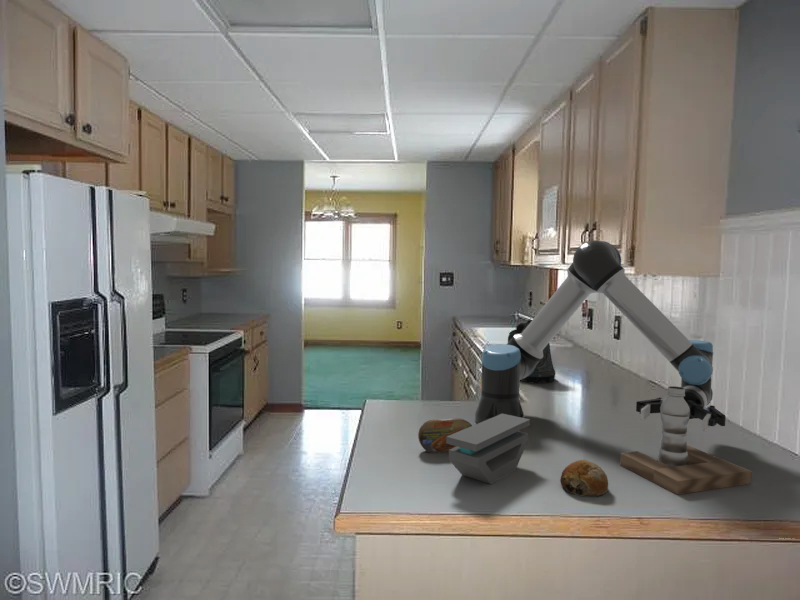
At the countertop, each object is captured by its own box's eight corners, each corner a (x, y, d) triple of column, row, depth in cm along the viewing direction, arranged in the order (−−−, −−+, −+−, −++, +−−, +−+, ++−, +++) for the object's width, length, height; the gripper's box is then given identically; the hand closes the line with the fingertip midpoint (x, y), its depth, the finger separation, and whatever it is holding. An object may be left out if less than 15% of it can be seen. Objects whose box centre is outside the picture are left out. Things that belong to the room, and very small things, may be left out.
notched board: (677, 494, 120) (678, 481, 120) (620, 465, 137) (620, 453, 137) (750, 483, 127) (751, 470, 126) (687, 456, 144) (687, 445, 143)
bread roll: (610, 512, 120) (624, 478, 120) (573, 497, 116) (588, 462, 117) (582, 493, 129) (596, 461, 129) (547, 479, 126) (562, 446, 126)
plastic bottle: (689, 475, 131) (694, 392, 130) (658, 471, 133) (662, 389, 132) (686, 466, 137) (690, 386, 136) (656, 462, 139) (659, 383, 138)
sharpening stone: (501, 454, 144) (502, 413, 143) (528, 462, 139) (530, 419, 138) (445, 484, 124) (446, 436, 124) (475, 493, 119) (476, 444, 119)
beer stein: (559, 383, 227) (561, 323, 225) (512, 383, 227) (514, 322, 225) (549, 375, 243) (551, 318, 242) (505, 374, 244) (506, 318, 242)
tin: (419, 454, 143) (420, 422, 143) (416, 449, 146) (417, 418, 146) (475, 450, 146) (475, 419, 146) (471, 446, 149) (471, 416, 149)
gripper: (742, 424, 142) (731, 446, 125) (639, 408, 157) (617, 425, 140) (743, 396, 142) (733, 414, 125) (640, 382, 157) (619, 396, 140)
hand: (672, 420), depth 132 cm, fingers open, 13 cm apart
